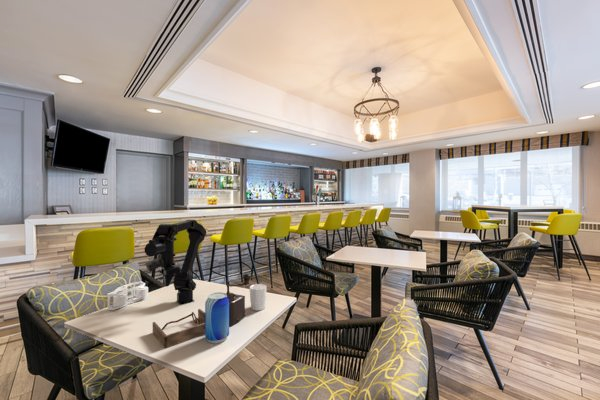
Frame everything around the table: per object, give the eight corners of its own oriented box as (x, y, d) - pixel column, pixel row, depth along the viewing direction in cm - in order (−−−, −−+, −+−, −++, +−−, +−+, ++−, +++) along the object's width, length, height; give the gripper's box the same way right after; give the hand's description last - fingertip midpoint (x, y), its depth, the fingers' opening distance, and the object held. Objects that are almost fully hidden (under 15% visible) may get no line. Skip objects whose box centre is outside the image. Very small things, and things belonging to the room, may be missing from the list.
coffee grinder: (231, 327, 108) (231, 283, 108) (210, 322, 113) (210, 279, 113) (253, 312, 123) (253, 273, 123) (233, 308, 127) (233, 270, 127)
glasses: (205, 333, 105) (205, 320, 105) (168, 345, 97) (168, 331, 97) (193, 321, 115) (193, 309, 115) (160, 331, 107) (160, 318, 107)
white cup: (246, 309, 126) (246, 288, 126) (255, 303, 133) (255, 283, 133) (261, 312, 123) (261, 290, 123) (269, 305, 130) (269, 285, 130)
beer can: (216, 347, 94) (216, 301, 94) (200, 340, 99) (200, 296, 99) (233, 336, 101) (233, 294, 101) (218, 330, 106) (218, 290, 106)
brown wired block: (199, 318, 117) (199, 308, 117) (215, 330, 106) (215, 320, 106) (152, 332, 104) (152, 322, 104) (164, 348, 94) (164, 336, 94)
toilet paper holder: (115, 311, 124) (114, 295, 124) (99, 308, 128) (99, 292, 128) (153, 297, 142) (153, 283, 142) (139, 294, 146) (138, 280, 146)
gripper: (141, 251, 124) (141, 285, 124) (153, 257, 110) (153, 296, 111) (167, 248, 132) (167, 280, 132) (181, 253, 118) (181, 289, 118)
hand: (167, 286), depth 123 cm, fingers closed
